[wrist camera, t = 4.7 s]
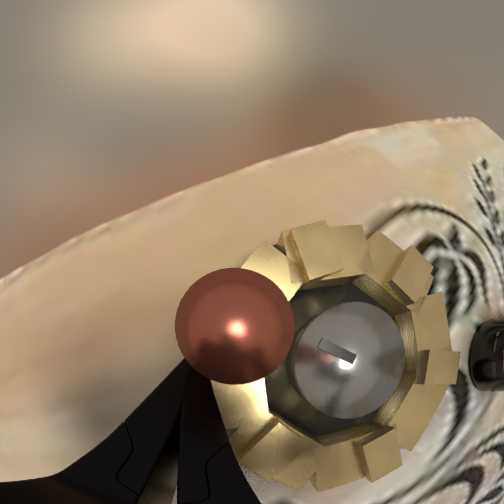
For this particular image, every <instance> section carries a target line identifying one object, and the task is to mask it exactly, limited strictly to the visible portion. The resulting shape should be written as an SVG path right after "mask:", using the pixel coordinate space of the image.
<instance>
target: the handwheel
mask: <svg viewBox="0 0 504 504" xmlns="http://www.w3.org/2000/svg"><path fill="white" fill-rule="evenodd" d="M277 248H278V250H277V249H276V248H275V247H273V246H272V245H270V244H269V243H268V242H266V241H265V240H264V241H263V242H262V243H261V244H260V245H259V246H258V248H257V249H256V250H255V251H254V252H253V254H252V255H251V256H250V257H249V258H248V260H247V261H246V262H245V263H244V264H243V265H242V267H241V268H226V269H220V270H217V271H214V272H211V273H209V274H207V275H205V276H203V277H202V278H200V279H199V280H197V281H196V282H195V283H194V284H193V285H192V286H191V287H190V288H189V289H188V290H187V292H186V293H185V294H184V296H183V298H182V300H181V302H180V304H179V306H178V310H177V313H176V320H175V332H176V339H177V342H178V345H179V348H180V350H181V352H182V354H183V356H184V357H185V359H186V360H187V362H188V363H189V364H190V365H191V366H192V367H193V368H194V369H195V370H196V371H197V372H199V373H200V374H201V375H203V376H205V377H207V378H208V379H210V380H211V383H212V386H213V389H214V393H215V396H216V400H217V403H218V406H219V409H220V412H221V416H222V419H223V422H224V425H225V428H226V429H229V430H228V431H227V434H228V437H229V440H230V443H231V445H232V448H233V451H234V454H235V456H236V458H237V461H238V462H239V463H241V464H242V465H243V466H245V467H246V468H248V469H249V470H251V471H252V472H254V473H255V474H257V475H258V476H260V477H261V478H263V479H264V480H266V481H267V482H270V481H271V480H273V479H275V480H277V481H279V482H281V483H283V484H285V485H287V486H289V487H291V488H293V489H295V490H299V489H300V488H301V487H302V486H303V485H304V484H305V483H306V482H307V481H308V480H309V479H310V481H311V482H312V484H313V486H314V487H315V489H316V490H317V492H318V491H322V490H326V489H330V488H333V487H336V486H340V485H343V484H346V483H349V482H352V481H355V480H358V479H361V478H363V477H366V478H367V479H368V480H369V481H370V482H374V481H376V480H378V479H380V478H381V477H383V476H385V475H387V474H388V473H390V472H392V471H393V470H395V469H397V468H398V467H400V466H401V465H402V460H401V454H400V449H399V446H400V447H402V448H404V449H407V450H409V451H412V449H413V448H414V446H415V445H416V443H417V442H418V440H419V439H420V437H421V435H422V434H423V432H424V431H425V429H426V427H427V426H428V424H429V422H430V420H431V419H432V417H433V415H434V413H435V412H436V410H437V408H438V406H439V404H440V402H441V400H442V398H443V396H444V394H445V392H446V390H447V388H448V386H449V384H456V380H457V373H458V366H459V358H460V352H454V351H452V348H451V340H450V333H449V327H448V321H447V315H446V310H445V305H444V300H443V295H442V292H439V293H436V294H432V295H428V296H427V293H428V291H429V288H430V285H431V283H432V280H433V276H432V275H431V274H430V273H431V271H432V269H433V266H432V265H431V264H430V263H429V262H428V261H427V260H426V259H425V258H424V257H423V256H422V255H421V254H420V253H419V252H418V251H417V250H416V249H415V248H414V247H413V246H410V247H409V248H407V249H406V250H405V251H403V250H402V249H401V248H400V247H398V246H397V245H396V244H395V243H394V242H392V241H391V240H390V239H389V238H387V237H386V236H385V235H384V234H382V233H381V232H380V231H379V230H378V231H377V232H376V233H375V234H374V235H372V236H371V237H370V238H369V239H368V240H367V241H366V238H365V234H364V231H363V227H362V225H349V226H335V227H328V226H327V224H326V222H325V220H324V221H320V222H316V223H312V224H308V225H304V226H300V227H296V228H292V229H290V230H285V231H282V232H281V235H280V238H279V240H278V243H277ZM348 283H353V284H354V285H355V286H357V287H358V288H359V289H360V290H362V291H363V292H364V293H366V294H367V295H368V296H369V297H371V298H372V299H373V300H374V301H376V302H377V303H378V304H380V305H381V306H382V307H383V308H385V309H386V310H387V311H388V312H390V313H391V314H392V315H393V316H394V319H395V324H396V325H397V327H398V329H399V331H400V333H401V336H402V339H403V343H404V348H405V363H404V369H403V373H402V376H401V379H400V381H399V384H398V385H397V387H396V389H395V391H394V392H393V394H392V395H391V396H390V397H389V399H388V400H387V401H386V402H385V403H384V404H383V405H381V407H380V408H379V410H378V411H377V413H376V414H375V416H374V417H373V419H372V420H370V421H367V422H364V423H361V424H358V425H355V426H352V427H349V428H346V429H342V430H339V431H335V432H331V433H328V434H324V435H320V436H316V437H315V436H313V435H311V434H309V433H308V432H306V431H304V430H303V429H301V428H299V427H298V426H296V425H294V424H293V423H291V422H290V421H288V420H286V419H285V418H283V417H282V416H280V415H279V414H277V413H276V412H274V411H273V410H271V409H270V408H268V403H267V396H266V388H265V381H264V377H266V376H267V375H269V374H270V373H272V372H273V371H274V370H275V369H276V368H278V366H279V365H280V364H281V363H282V362H283V361H284V359H285V358H286V356H287V354H288V352H289V350H290V348H291V345H292V342H293V337H294V327H295V325H294V316H293V312H292V309H291V306H290V303H289V301H290V300H291V298H292V297H293V296H294V294H295V293H296V291H299V290H306V289H314V288H321V287H328V286H335V285H341V284H348Z"/></svg>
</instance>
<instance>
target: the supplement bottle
mask: <svg viewBox="0 0 504 504" xmlns="http://www.w3.org/2000/svg"><path fill="white" fill-rule="evenodd" d="M470 371H471V376H472V379H473V382H474V383H475V385H476V386H477V387H478V388H479V389H480V390H483V391H504V316H502V317H498V318H494V319H491V320H488V321H487V322H485V323H484V324H483V325H482V326H481V327H480V329H479V330H478V332H477V334H476V336H475V338H474V341H473V344H472V349H471V355H470Z"/></svg>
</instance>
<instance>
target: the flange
mask: <svg viewBox="0 0 504 504" xmlns="http://www.w3.org/2000/svg"><path fill="white" fill-rule="evenodd" d="M273 247H275V248H276V249H277V250H278V248H277V244H276V245H274V246H273ZM241 267H242V266H241ZM241 267H240V268H241ZM289 303H290V306H291V309H292V312H293V316H294V325H295V327H294V337H293V342H292V345H291V348H290V350H289V352H288V354H287V356H286V358H285V359H284V361H283V362H282V363H281V364H280V365H279V366H278V368H276V369H275V370H274V371H273V372H272V373H270V374H269V375H267V376H266V377H264V381H265V388H266V396H267V403H268V408H270V409H271V410H273V411H274V412H276V413H277V414H279V415H280V416H282V417H283V418H285V419H286V420H288V421H290V422H291V423H293V424H294V425H296V426H298V427H299V428H301V429H303V430H304V431H306V432H308V433H309V434H311V435H313V436H315V437H316V436H320V435H324V434H328V433H331V432H335V431H339V430H342V429H346V428H349V427H352V426H355V425H358V424H361V423H364V422H367V421H370V420H372V419H373V417H374V416H375V414H376V413H377V411H378V410H379V408H380V407H381V405H383V404H384V403H385V402H386V401H387V400H388V399H389V397H390V396H391V395H392V394H393V392H394V391H395V389H396V387H397V385H398V384H399V381H400V379H401V376H402V373H403V369H404V363H405V348H404V343H403V339H402V336H401V333H400V331H399V329H398V327H397V325H396V324H395V319H394V316H393V315H392V314H391V313H390V312H388V311H387V310H386V309H385V308H383V307H382V306H381V305H380V304H378V303H377V302H376V301H374V300H373V299H372V298H371V297H369V296H368V295H367V294H366V293H364V292H363V291H362V290H360V289H359V288H358V287H357V286H355V285H354V284H353V283H348V284H341V285H335V286H328V287H321V288H314V289H306V290H299V291H296V293H295V294H294V296H293V297H292V298H291V300H290V301H289ZM228 430H229V429H226V431H228Z"/></svg>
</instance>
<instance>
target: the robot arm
mask: <svg viewBox="0 0 504 504" xmlns="http://www.w3.org/2000/svg"><path fill="white" fill-rule="evenodd" d="M176 484H177V504H261V503H260V501H259V499H258V498H257V496H256V495H255V493H254V491H253V490H252V488H251V486H250V485H249V483H248V481H247V480H246V478H245V476H244V474H243V472H242V470H241V468H240V466H239V463H238V461H237V459H236V456H235V454H234V451H233V448H232V445H231V443H230V440H229V437H228V434H227V431H226V428H225V425H224V422H223V419H222V416H221V412H220V409H219V406H218V403H217V400H216V396H215V393H214V389H213V386H212V383H211V380H210V379H208V378H207V377H205V376H203V375H201V374H200V373H199V372H197V371H196V370H195V369H194V368H193V367H192V366H191V365H190V364H189V363H188V362H187V360H186V359H185V358H184V359H183V360H182V361H181V362H180V363H179V364H178V365H177V366H176V367H175V368H174V369H173V370H172V372H171V373H170V374H169V375H168V376H167V377H166V378H165V379H164V380H163V381H162V382H161V383H160V384H159V385H158V386H157V387H156V388H155V389H154V391H153V392H152V393H151V394H150V395H149V396H148V397H147V398H146V399H145V400H144V401H143V402H142V403H141V404H140V405H139V406H138V407H137V408H136V409H135V410H134V411H133V412H132V413H131V414H130V415H129V416H128V417H127V418H126V419H125V422H122V423H121V424H120V425H119V426H118V427H117V429H116V430H114V431H113V432H112V433H111V434H110V435H109V436H108V437H107V438H106V439H105V440H104V441H102V442H101V443H100V444H99V445H97V446H96V447H95V448H94V449H92V450H91V451H90V452H88V453H87V454H85V455H84V456H83V457H81V458H80V459H78V460H77V461H76V462H74V463H73V464H71V465H70V466H69V467H67V468H66V469H64V470H63V471H61V472H59V473H57V474H54V475H51V476H48V477H42V478H36V479H29V480H21V481H11V482H0V504H171V503H172V499H173V495H174V492H175V488H176Z"/></svg>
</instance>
